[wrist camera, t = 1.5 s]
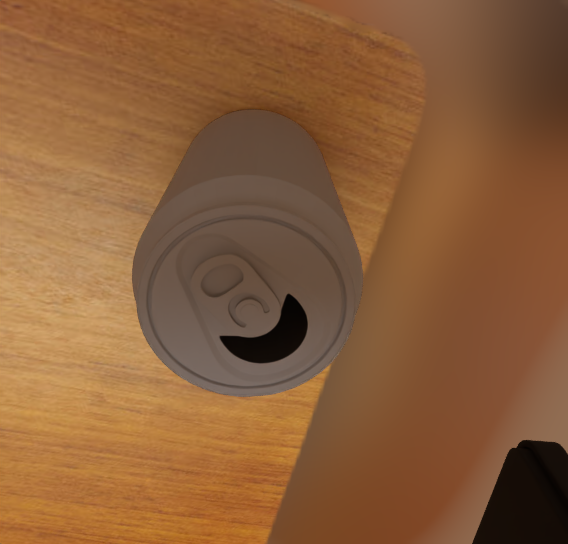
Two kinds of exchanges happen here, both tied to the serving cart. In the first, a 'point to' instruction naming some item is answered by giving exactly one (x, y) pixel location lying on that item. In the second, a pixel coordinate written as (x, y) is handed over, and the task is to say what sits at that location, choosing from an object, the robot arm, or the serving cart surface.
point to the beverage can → (248, 260)
